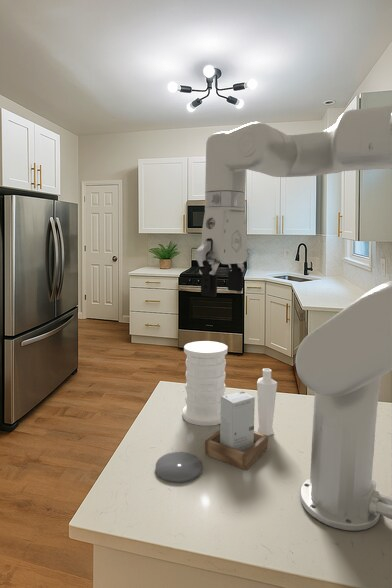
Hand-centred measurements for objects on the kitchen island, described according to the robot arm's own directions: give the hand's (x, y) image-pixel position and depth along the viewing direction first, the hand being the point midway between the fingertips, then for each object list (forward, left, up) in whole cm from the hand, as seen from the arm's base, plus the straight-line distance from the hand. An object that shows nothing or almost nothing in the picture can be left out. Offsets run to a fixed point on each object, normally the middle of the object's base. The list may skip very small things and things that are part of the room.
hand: (222, 293), depth 74 cm
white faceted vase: (-3, -14, -34) cm, 37 cm away
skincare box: (-2, -3, -34) cm, 34 cm away
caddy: (-2, -3, -34) cm, 34 cm away
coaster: (+4, +9, -34) cm, 35 cm away
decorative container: (+13, -13, -34) cm, 39 cm away
